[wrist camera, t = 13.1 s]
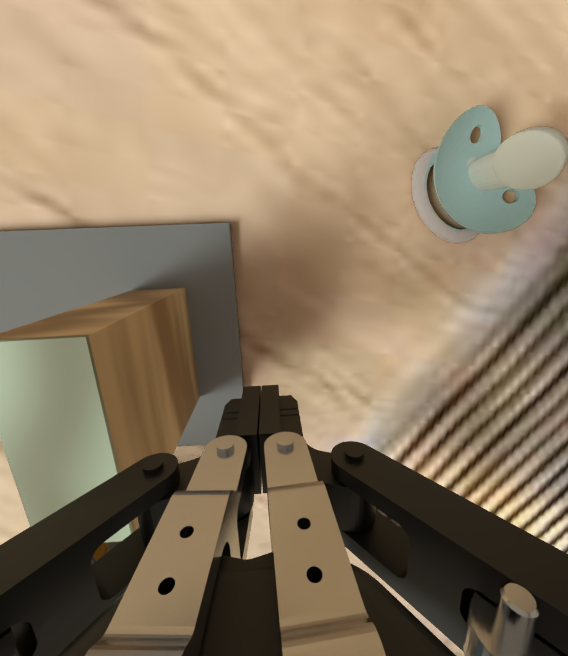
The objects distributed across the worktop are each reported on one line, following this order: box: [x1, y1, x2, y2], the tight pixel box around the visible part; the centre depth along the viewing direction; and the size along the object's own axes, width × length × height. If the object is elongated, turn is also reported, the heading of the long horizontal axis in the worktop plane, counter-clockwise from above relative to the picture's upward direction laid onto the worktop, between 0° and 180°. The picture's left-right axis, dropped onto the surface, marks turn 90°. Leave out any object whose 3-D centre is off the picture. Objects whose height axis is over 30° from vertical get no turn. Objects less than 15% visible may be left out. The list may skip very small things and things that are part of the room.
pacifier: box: [411, 106, 568, 244], centre depth 17 cm, size 7×6×6 cm
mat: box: [0, 223, 244, 446], centre depth 21 cm, size 18×16×1 cm
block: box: [0, 288, 200, 543], centre depth 16 cm, size 4×8×11 cm, turn 3°
